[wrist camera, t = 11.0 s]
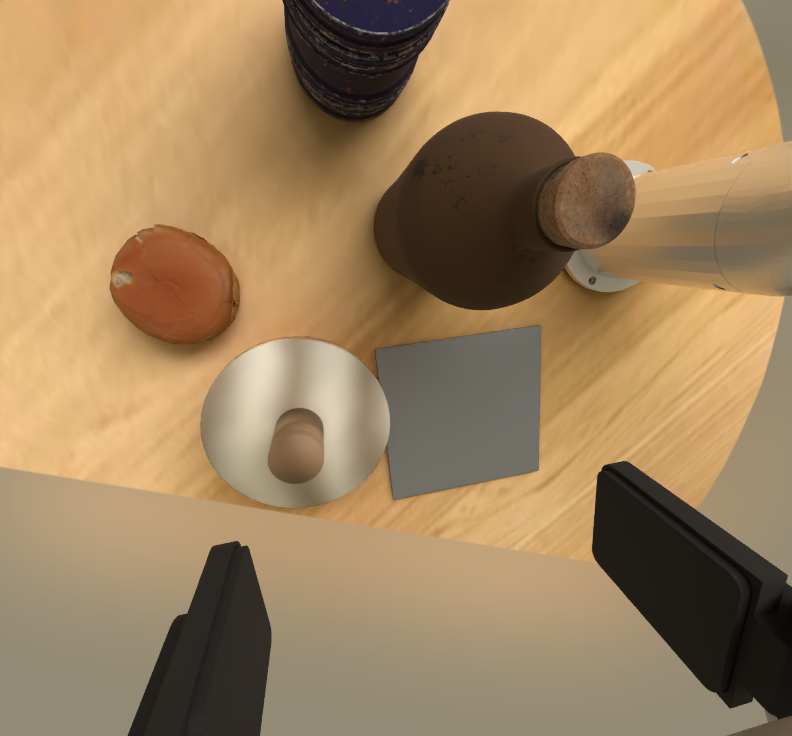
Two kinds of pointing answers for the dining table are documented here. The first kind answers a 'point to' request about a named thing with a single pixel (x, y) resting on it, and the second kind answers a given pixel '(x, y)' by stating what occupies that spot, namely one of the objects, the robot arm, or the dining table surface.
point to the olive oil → (499, 210)
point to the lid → (295, 422)
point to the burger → (174, 285)
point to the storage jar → (358, 50)
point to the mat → (462, 409)
